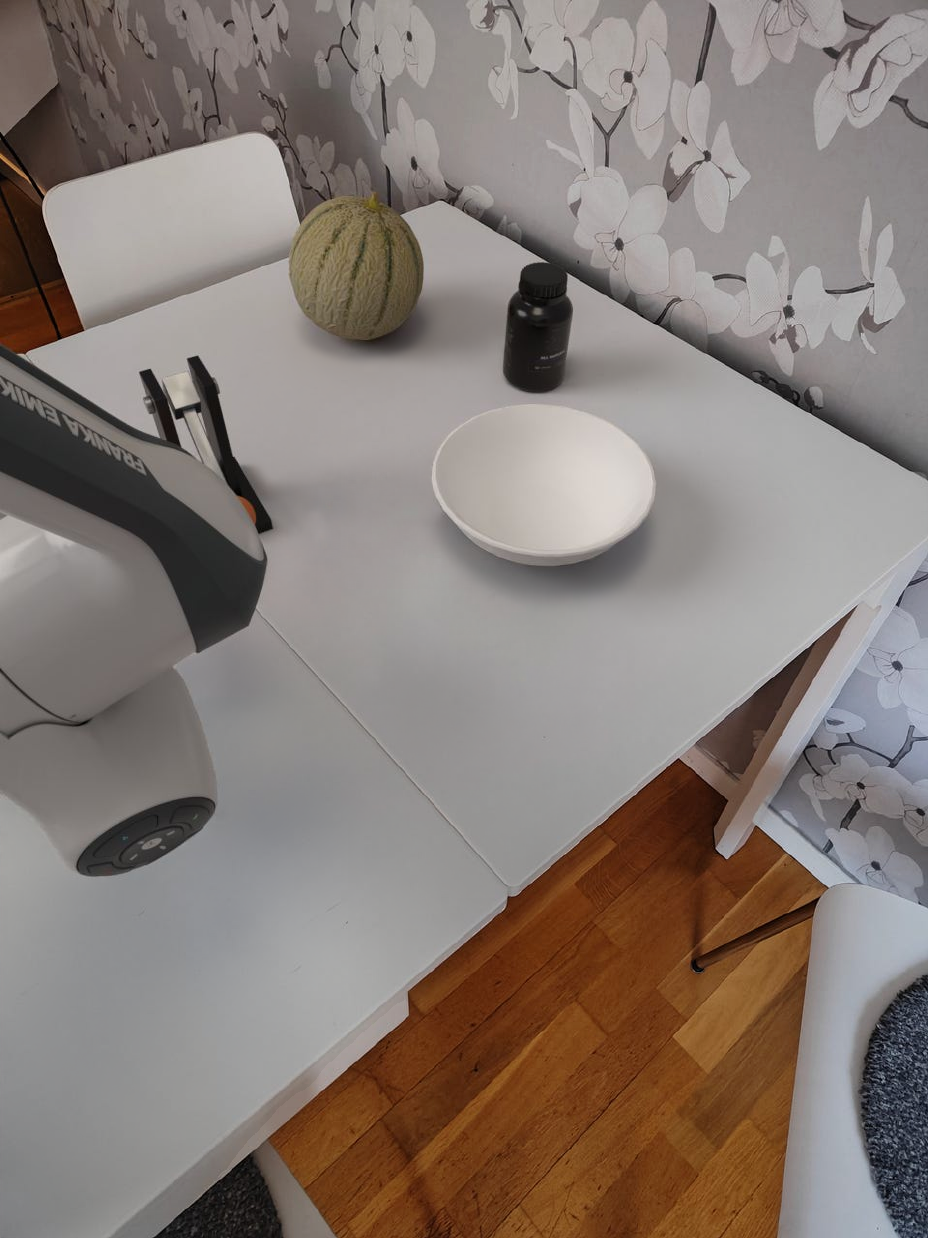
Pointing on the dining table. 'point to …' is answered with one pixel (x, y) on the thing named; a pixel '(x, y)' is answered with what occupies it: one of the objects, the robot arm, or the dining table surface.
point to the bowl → (543, 483)
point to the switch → (195, 422)
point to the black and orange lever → (214, 429)
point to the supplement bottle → (538, 328)
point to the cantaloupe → (356, 267)
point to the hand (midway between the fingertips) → (28, 483)
